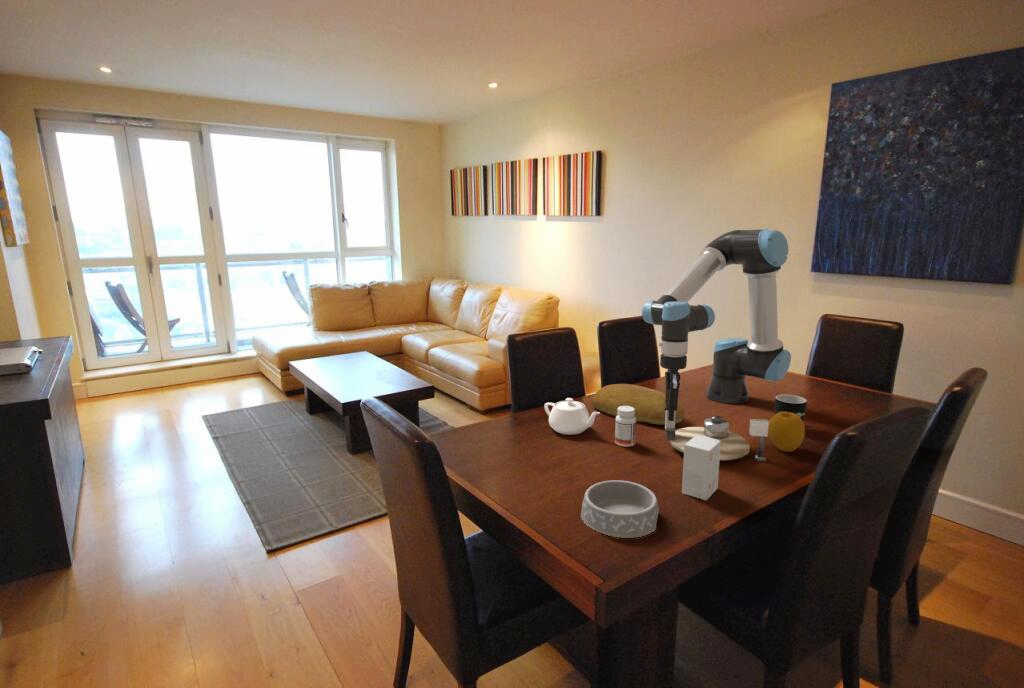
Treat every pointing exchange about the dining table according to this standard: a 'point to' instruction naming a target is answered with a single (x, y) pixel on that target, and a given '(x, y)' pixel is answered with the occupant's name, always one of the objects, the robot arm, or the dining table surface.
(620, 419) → the pill bottle
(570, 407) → the teapot
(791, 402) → the mug
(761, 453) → the silver rod with block
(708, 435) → the cover
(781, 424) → the apple
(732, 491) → the dining table surface
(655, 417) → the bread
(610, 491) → the dog bowl
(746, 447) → the platter
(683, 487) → the small box
